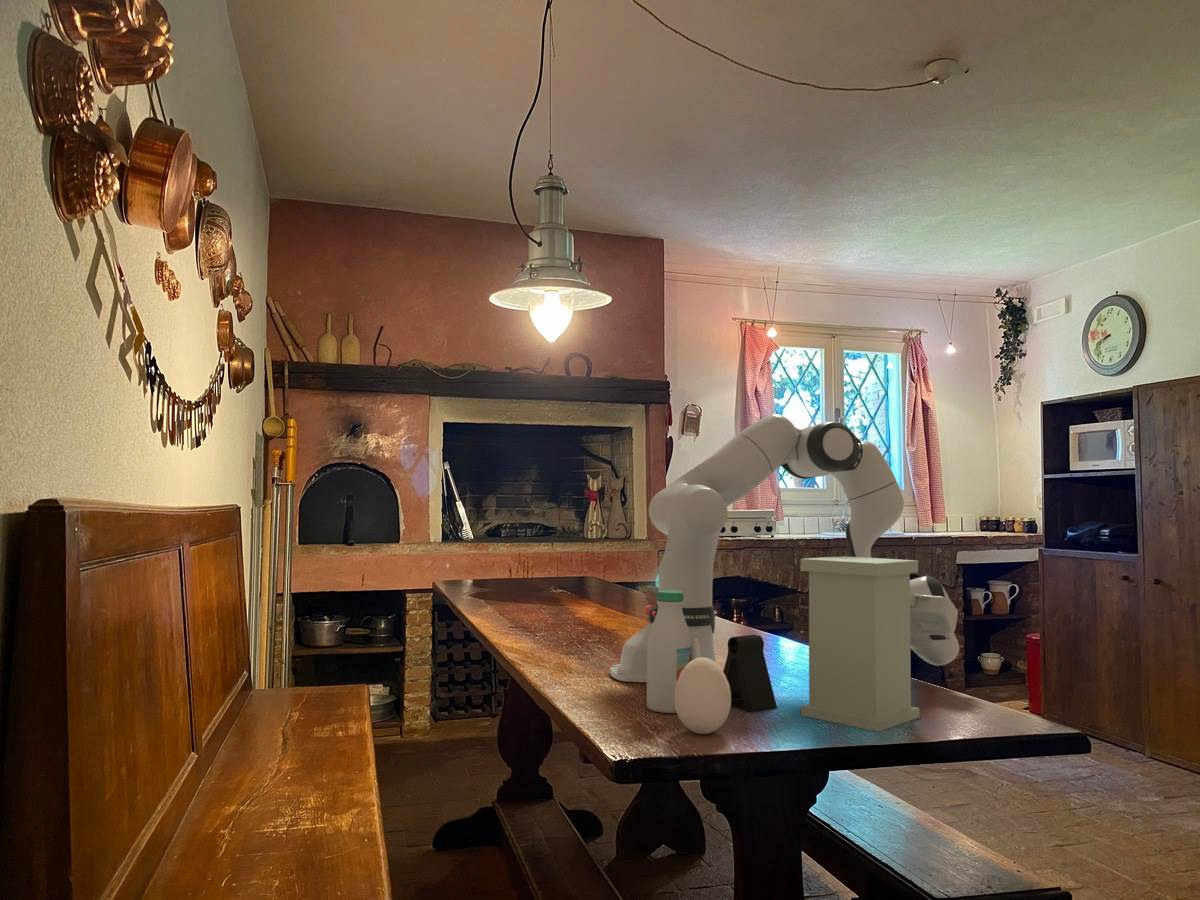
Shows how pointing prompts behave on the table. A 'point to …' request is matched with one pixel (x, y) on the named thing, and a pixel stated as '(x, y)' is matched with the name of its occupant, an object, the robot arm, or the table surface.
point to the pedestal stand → (860, 641)
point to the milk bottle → (667, 651)
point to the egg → (702, 696)
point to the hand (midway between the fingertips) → (885, 589)
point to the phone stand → (748, 674)
